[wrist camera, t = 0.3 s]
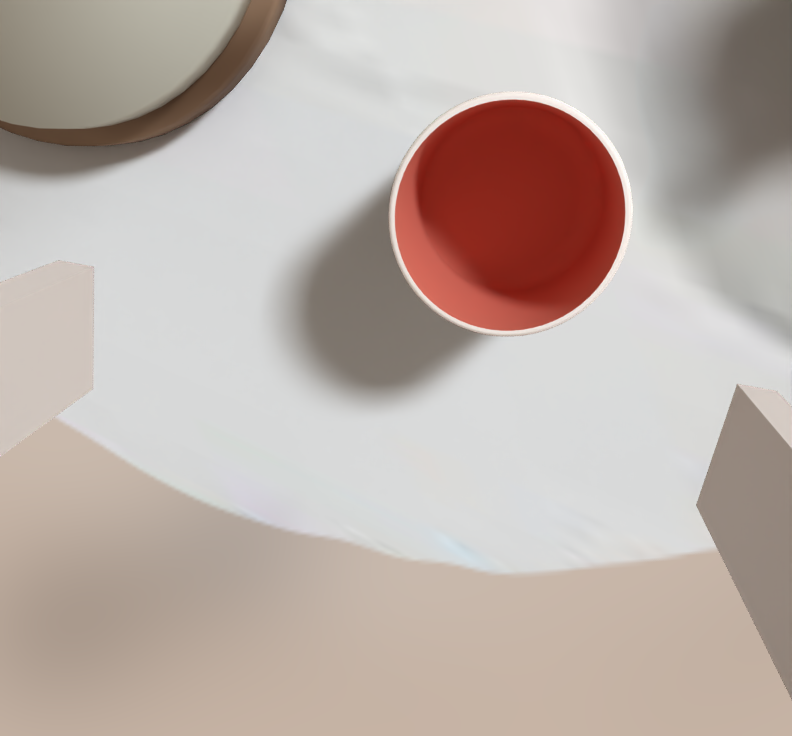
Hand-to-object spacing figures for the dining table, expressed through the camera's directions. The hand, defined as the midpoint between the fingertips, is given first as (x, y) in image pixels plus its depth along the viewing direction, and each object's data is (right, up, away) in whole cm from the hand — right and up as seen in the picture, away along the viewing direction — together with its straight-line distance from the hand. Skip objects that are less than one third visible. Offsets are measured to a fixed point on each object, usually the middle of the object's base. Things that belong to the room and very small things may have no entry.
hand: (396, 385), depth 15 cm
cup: (+6, +9, +25) cm, 28 cm away
